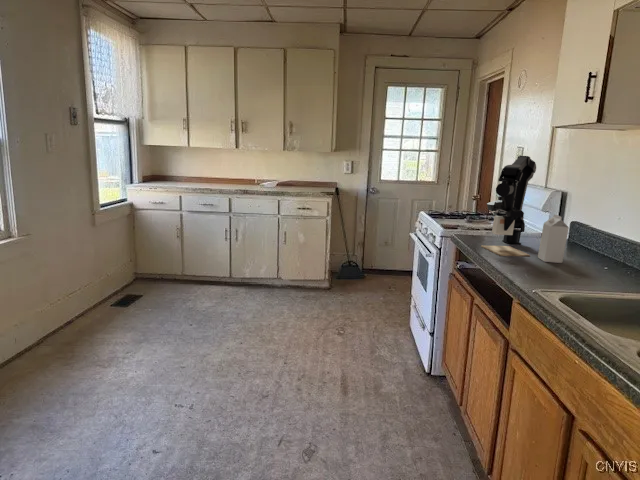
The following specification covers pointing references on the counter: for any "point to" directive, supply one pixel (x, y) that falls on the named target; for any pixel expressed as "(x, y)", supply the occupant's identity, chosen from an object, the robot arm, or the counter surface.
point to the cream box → (501, 226)
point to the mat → (505, 250)
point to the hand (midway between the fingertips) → (503, 229)
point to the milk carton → (553, 240)
